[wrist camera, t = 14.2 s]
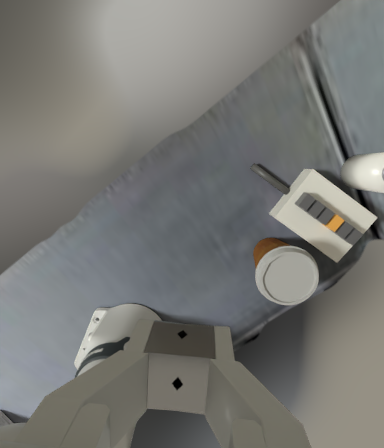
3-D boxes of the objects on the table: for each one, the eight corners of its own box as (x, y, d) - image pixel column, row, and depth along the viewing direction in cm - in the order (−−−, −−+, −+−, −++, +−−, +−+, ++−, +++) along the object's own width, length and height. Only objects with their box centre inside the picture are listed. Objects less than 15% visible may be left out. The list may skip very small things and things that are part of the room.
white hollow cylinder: (358, 195, 47) (394, 201, 38) (333, 175, 47) (363, 178, 38) (382, 167, 46) (425, 167, 37) (356, 147, 46) (393, 142, 37)
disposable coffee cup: (275, 219, 49) (297, 235, 37) (304, 257, 50) (334, 284, 39) (235, 249, 51) (244, 273, 39) (264, 285, 52) (281, 319, 40)
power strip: (326, 255, 50) (342, 267, 44) (234, 188, 48) (238, 191, 42) (363, 213, 48) (385, 220, 42) (268, 142, 46) (278, 138, 40)
